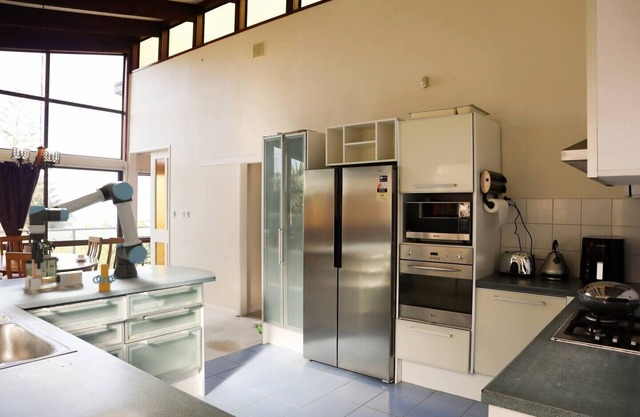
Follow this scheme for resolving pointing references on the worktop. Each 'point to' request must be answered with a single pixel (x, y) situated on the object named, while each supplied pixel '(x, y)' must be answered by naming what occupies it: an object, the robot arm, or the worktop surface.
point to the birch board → (52, 288)
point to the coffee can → (49, 267)
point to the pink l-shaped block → (43, 280)
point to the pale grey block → (69, 278)
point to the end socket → (32, 283)
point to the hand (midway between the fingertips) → (37, 274)
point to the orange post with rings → (104, 278)
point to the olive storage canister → (30, 267)
